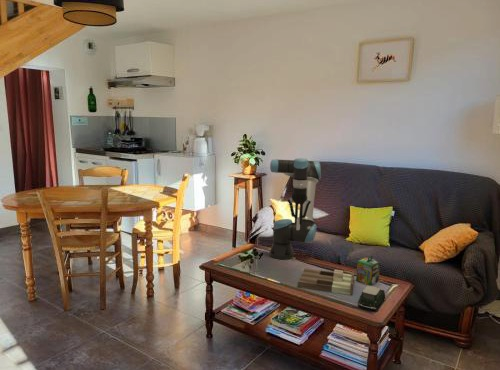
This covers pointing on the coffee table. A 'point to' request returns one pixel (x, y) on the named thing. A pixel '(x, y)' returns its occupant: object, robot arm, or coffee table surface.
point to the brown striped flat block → (326, 281)
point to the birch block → (338, 275)
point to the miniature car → (371, 297)
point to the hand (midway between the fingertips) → (298, 229)
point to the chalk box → (368, 270)
